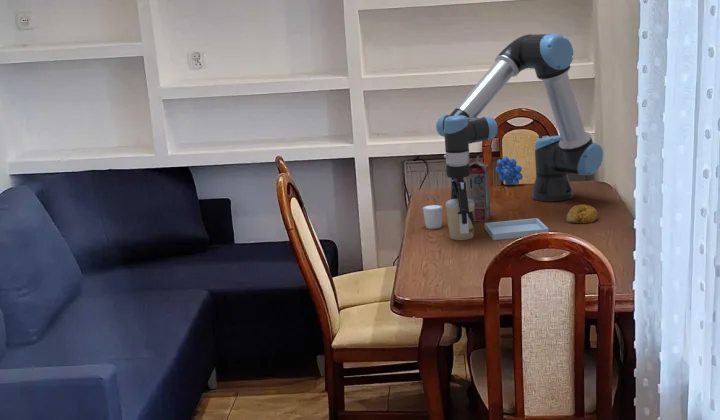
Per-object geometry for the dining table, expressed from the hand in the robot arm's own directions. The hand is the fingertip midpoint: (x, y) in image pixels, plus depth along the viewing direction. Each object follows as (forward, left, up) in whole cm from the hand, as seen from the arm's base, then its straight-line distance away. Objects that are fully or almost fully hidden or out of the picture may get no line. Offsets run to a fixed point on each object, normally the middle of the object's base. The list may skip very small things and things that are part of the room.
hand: (460, 227), depth 278 cm
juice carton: (-10, -21, -3) cm, 24 cm away
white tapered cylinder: (+7, -16, -3) cm, 18 cm away
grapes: (-31, -67, -3) cm, 74 cm away
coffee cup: (0, 0, -3) cm, 3 cm away
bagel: (-42, -7, -4) cm, 43 cm away
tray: (-18, 0, -3) cm, 18 cm away
